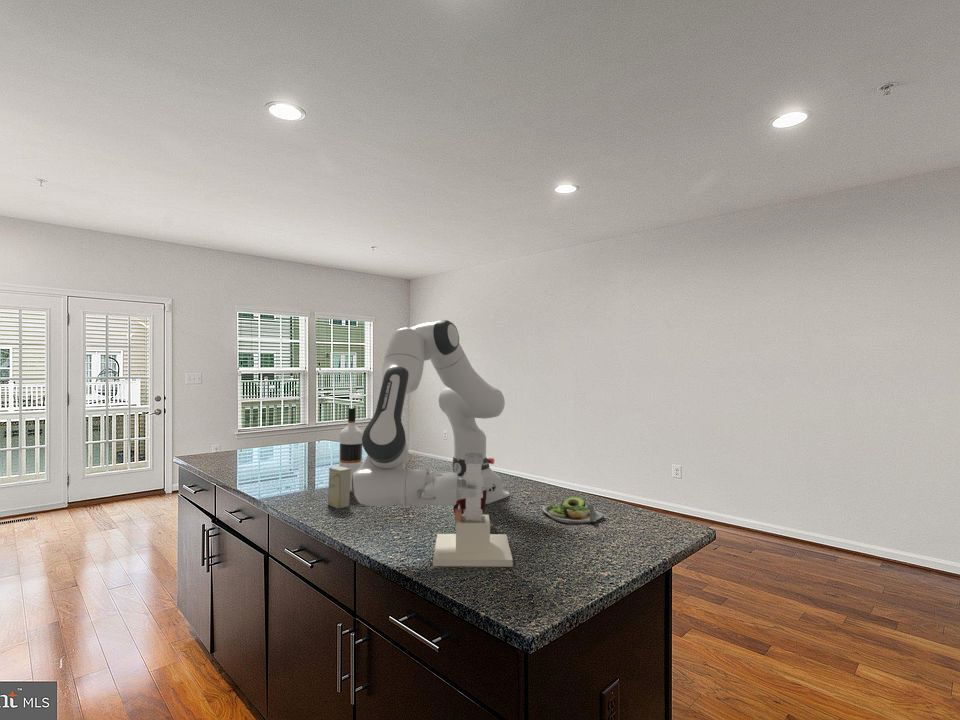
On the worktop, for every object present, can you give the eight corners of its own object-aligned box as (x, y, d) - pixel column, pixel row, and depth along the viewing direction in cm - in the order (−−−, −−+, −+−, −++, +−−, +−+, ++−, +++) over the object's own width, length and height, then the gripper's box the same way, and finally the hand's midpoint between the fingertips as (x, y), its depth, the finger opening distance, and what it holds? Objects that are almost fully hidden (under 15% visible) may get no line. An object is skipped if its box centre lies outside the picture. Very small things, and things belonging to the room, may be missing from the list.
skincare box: (327, 505, 163) (328, 467, 164) (339, 502, 167) (339, 465, 167) (338, 509, 159) (339, 470, 160) (350, 506, 163) (351, 468, 163)
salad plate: (618, 525, 149) (619, 509, 149) (563, 529, 143) (563, 513, 143) (586, 507, 167) (586, 493, 167) (536, 511, 162) (536, 496, 162)
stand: (437, 539, 132) (438, 501, 132) (506, 540, 132) (506, 501, 133) (432, 566, 114) (433, 521, 114) (512, 566, 115) (513, 522, 115)
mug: (466, 531, 139) (466, 494, 140) (446, 524, 145) (446, 489, 145) (491, 523, 147) (492, 488, 147) (471, 517, 152) (472, 484, 153)
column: (462, 547, 126) (464, 453, 127) (481, 547, 127) (482, 453, 127) (462, 556, 120) (464, 457, 121) (482, 557, 120) (483, 457, 121)
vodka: (347, 494, 179) (349, 408, 179) (331, 489, 184) (333, 407, 185) (368, 489, 186) (370, 407, 186) (352, 485, 192) (354, 406, 192)
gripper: (415, 484, 113) (477, 484, 113) (422, 466, 133) (475, 467, 134) (414, 512, 113) (476, 513, 113) (422, 490, 133) (475, 491, 134)
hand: (476, 488), depth 124 cm, fingers open, 8 cm apart
